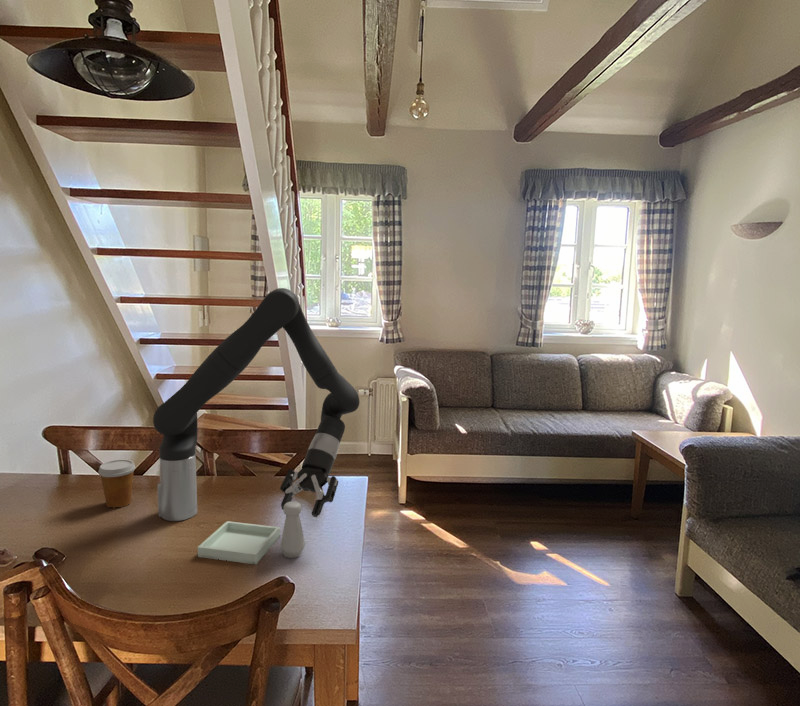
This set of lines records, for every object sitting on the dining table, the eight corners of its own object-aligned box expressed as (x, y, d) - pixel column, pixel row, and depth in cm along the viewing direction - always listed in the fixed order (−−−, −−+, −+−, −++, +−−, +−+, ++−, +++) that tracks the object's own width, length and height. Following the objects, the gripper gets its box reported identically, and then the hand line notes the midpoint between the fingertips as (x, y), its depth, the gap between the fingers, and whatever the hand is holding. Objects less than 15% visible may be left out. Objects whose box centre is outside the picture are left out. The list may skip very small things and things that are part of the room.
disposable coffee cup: (112, 513, 149) (109, 472, 147) (93, 505, 154) (91, 465, 152) (143, 502, 157) (142, 463, 155) (125, 494, 162) (123, 456, 160)
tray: (197, 556, 127) (197, 547, 127) (227, 529, 141) (227, 521, 141) (256, 564, 125) (255, 554, 124) (280, 536, 138) (280, 527, 138)
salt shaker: (309, 550, 132) (309, 500, 130) (297, 561, 126) (297, 510, 124) (288, 546, 133) (288, 497, 132) (276, 557, 128) (275, 506, 126)
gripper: (292, 444, 140) (268, 502, 131) (341, 451, 135) (319, 512, 126) (303, 457, 145) (280, 513, 136) (350, 464, 140) (329, 523, 131)
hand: (299, 512), depth 131 cm, fingers open, 8 cm apart
